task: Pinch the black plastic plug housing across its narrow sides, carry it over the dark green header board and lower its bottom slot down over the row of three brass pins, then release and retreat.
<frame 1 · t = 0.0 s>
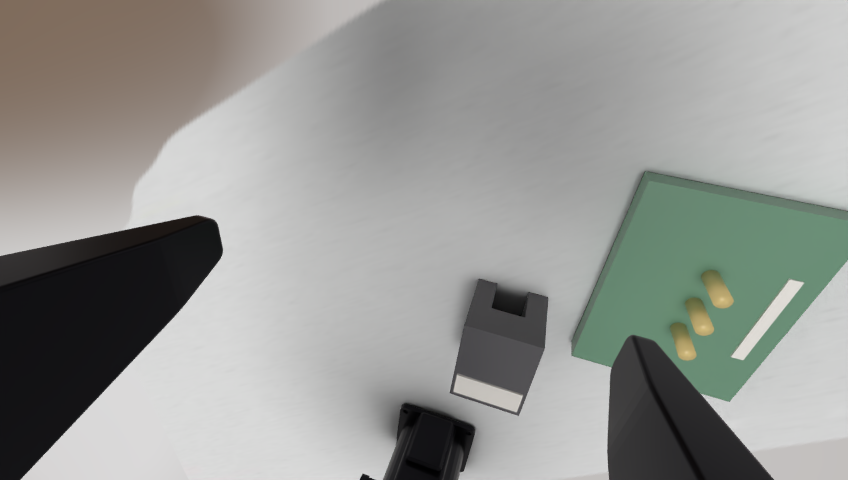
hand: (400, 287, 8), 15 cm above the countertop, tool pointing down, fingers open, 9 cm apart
plug: (503, 321, 27), on the countertop
header board: (688, 289, 22), on the countertop
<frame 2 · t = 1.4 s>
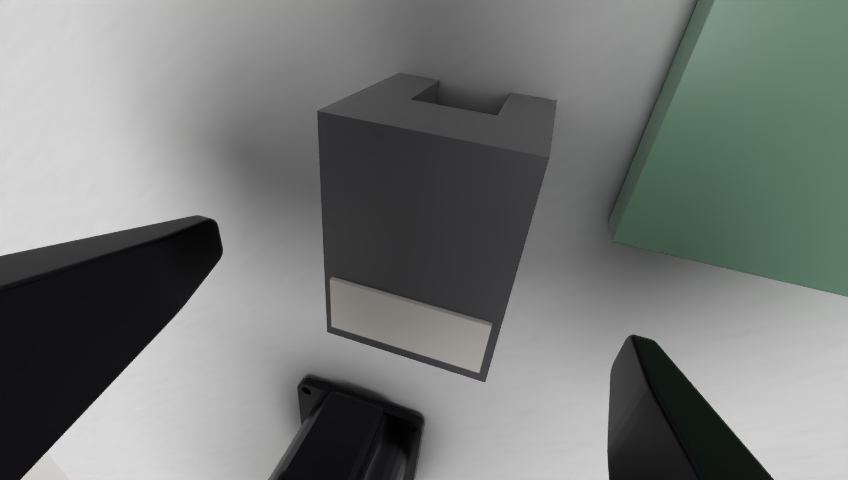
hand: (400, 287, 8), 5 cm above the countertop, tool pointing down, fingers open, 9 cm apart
plug: (458, 185, 13), on the countertop
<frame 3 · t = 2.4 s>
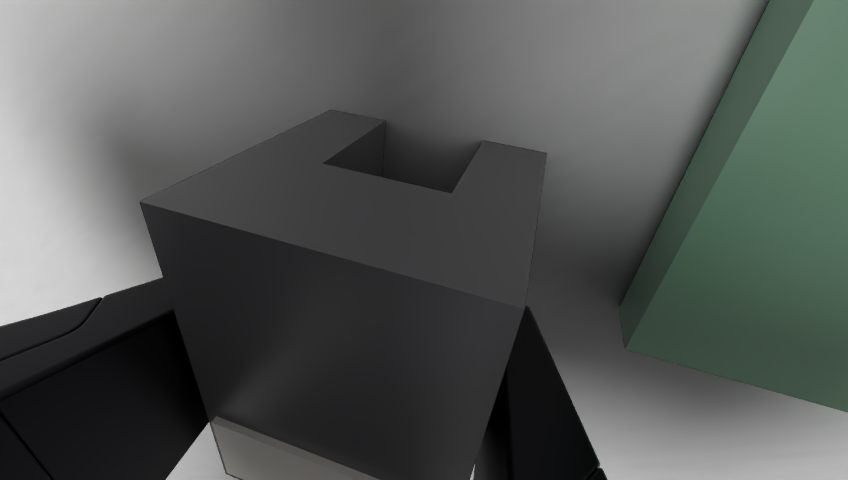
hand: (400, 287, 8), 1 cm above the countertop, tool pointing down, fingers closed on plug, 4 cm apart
plug: (418, 255, 9), on the countertop, touching gripper
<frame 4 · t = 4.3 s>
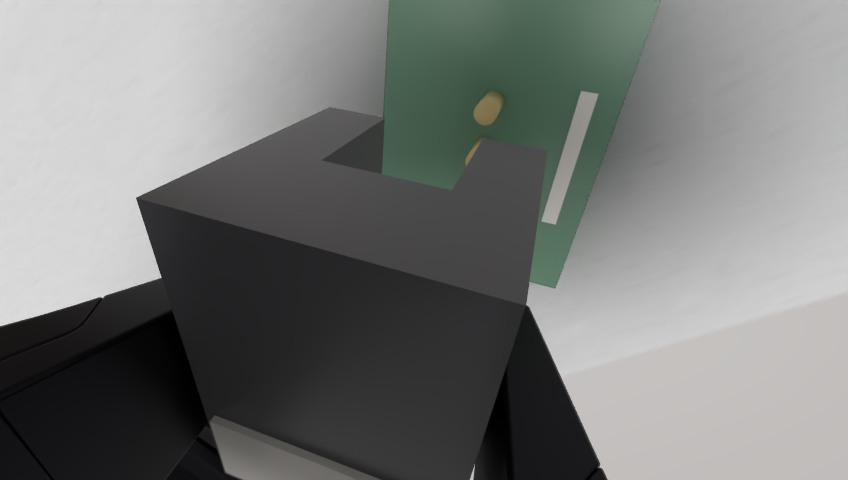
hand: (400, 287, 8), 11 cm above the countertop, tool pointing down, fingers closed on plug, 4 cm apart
plug: (418, 254, 9), point 10 cm above the countertop, touching gripper
header board: (489, 137, 17), on the countertop
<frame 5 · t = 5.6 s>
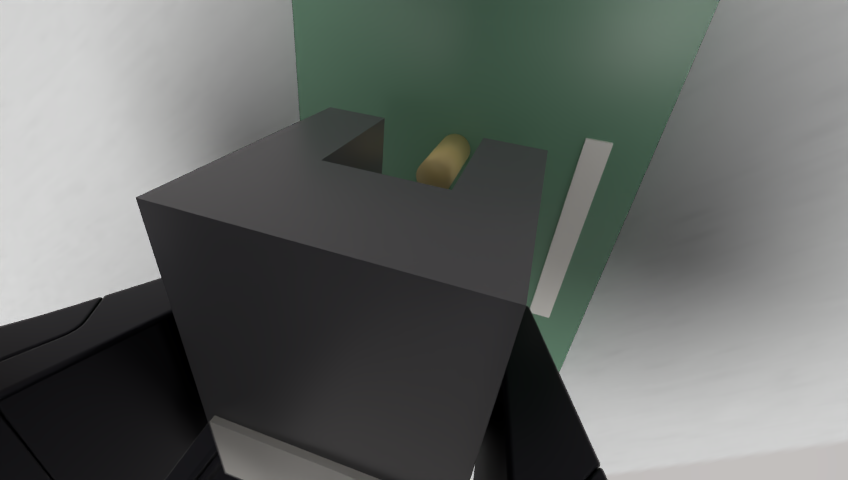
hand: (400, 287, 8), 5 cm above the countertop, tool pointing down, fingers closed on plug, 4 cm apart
plug: (418, 253, 9), point 4 cm above the countertop, touching gripper
header board: (455, 193, 12), on the countertop
when the fingers open (3 cm above the countertop, at t = 6.4 s): plug stays where it is, resting on header board.
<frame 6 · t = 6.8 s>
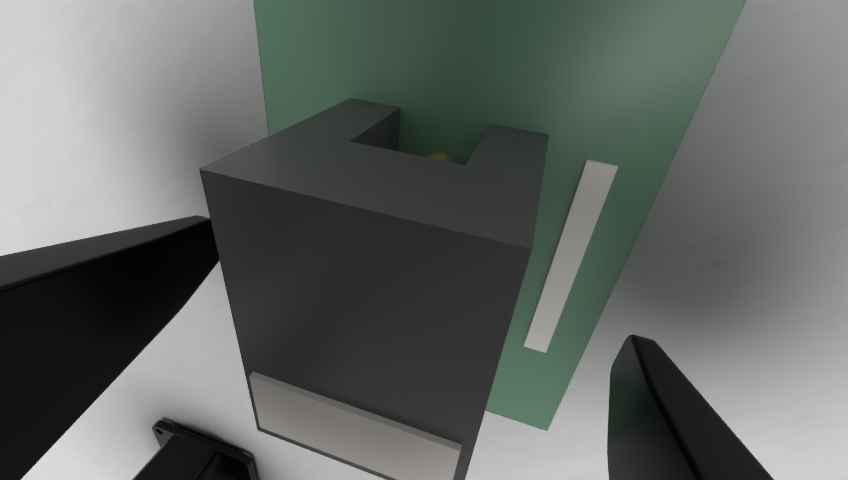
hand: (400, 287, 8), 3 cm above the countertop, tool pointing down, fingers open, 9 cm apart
plug: (430, 234, 10), point 1 cm above the countertop, touching header board
header board: (443, 214, 11), on the countertop
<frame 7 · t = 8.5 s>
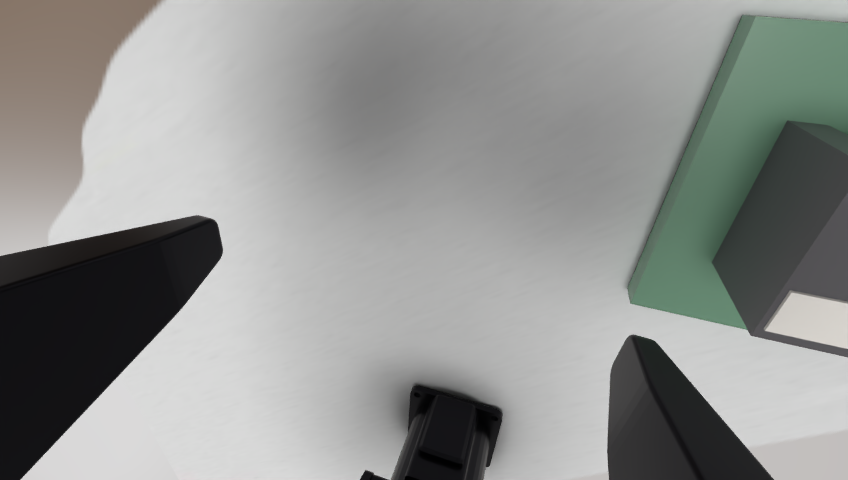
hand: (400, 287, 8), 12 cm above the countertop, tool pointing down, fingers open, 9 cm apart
plug: (812, 209, 15), point 1 cm above the countertop, touching header board
header board: (797, 196, 16), on the countertop
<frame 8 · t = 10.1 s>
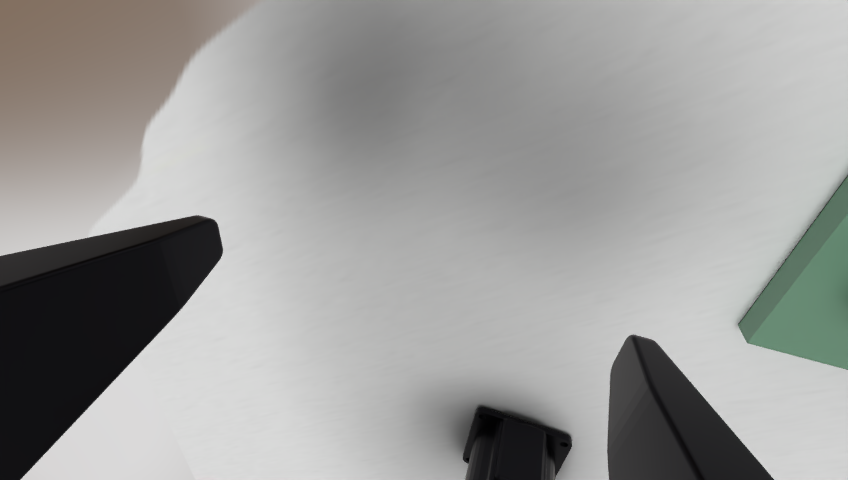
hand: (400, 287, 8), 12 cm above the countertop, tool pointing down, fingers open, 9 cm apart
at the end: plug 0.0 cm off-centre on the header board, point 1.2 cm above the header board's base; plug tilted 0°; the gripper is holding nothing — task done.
